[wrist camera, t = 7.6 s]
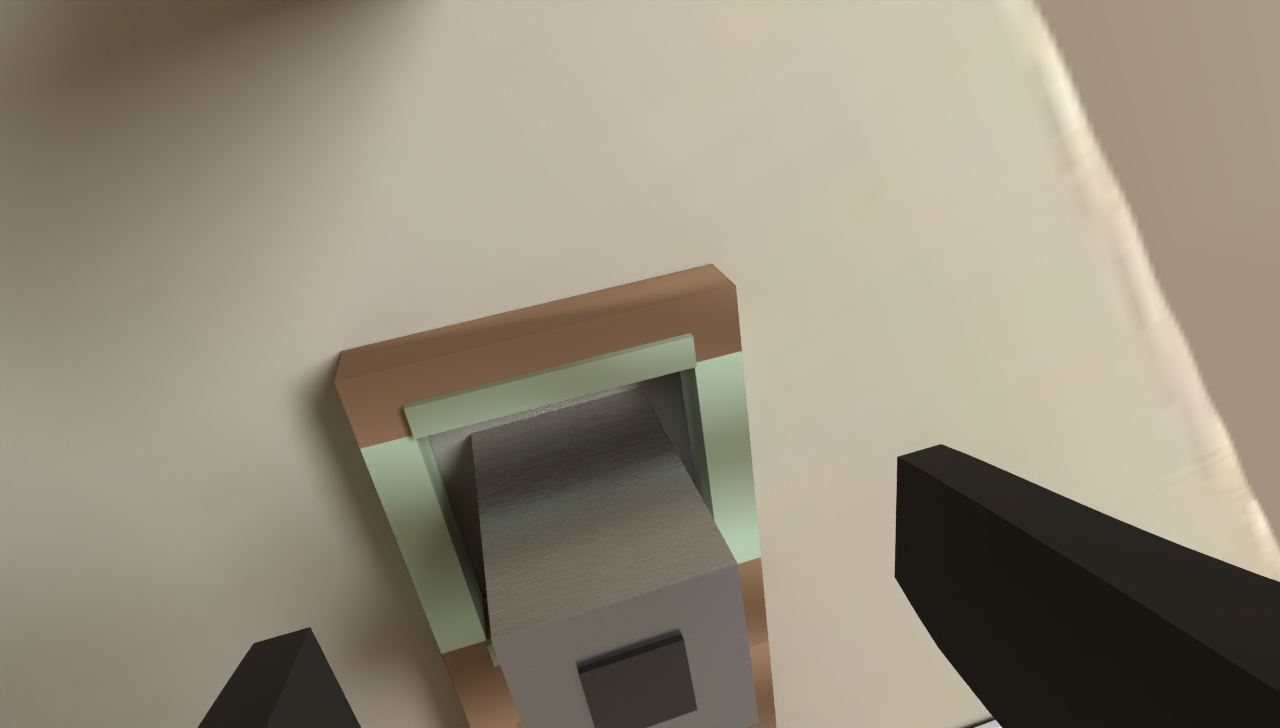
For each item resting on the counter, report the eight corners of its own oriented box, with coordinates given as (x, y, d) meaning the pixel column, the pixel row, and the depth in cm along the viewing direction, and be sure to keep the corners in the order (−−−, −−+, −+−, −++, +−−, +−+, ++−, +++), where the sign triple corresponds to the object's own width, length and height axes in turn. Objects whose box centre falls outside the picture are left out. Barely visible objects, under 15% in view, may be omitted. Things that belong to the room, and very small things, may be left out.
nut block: (665, 518, 21) (762, 729, 15) (514, 564, 21) (550, 804, 15) (640, 386, 19) (741, 569, 13) (470, 433, 19) (492, 648, 12)
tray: (765, 762, 28) (785, 808, 26) (529, 845, 26) (536, 898, 25) (712, 263, 18) (738, 288, 17) (341, 351, 17) (332, 387, 15)
